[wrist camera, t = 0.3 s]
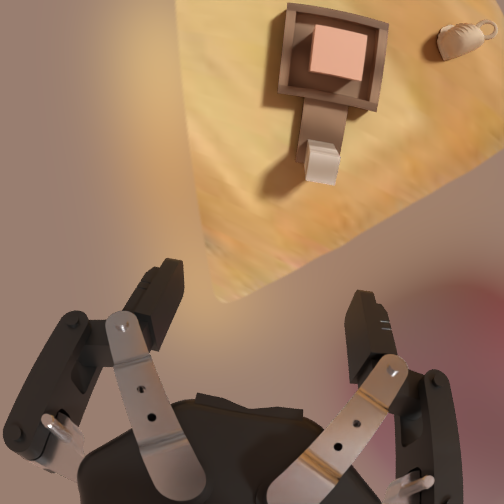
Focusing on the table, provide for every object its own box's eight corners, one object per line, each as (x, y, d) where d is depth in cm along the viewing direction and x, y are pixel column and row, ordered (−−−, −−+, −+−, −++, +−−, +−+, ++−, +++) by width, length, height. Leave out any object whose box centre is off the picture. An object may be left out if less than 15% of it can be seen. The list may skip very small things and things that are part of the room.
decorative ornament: (427, 32, 22) (446, 27, 18) (471, 19, 18) (492, 16, 14) (442, 60, 24) (463, 61, 19) (484, 46, 20) (507, 47, 16)
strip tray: (287, 7, 24) (286, -10, 18) (382, 26, 23) (403, 16, 17) (271, 155, 34) (265, 174, 28) (358, 170, 34) (371, 192, 28)
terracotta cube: (312, 32, 24) (315, 24, 20) (357, 41, 24) (367, 35, 20) (308, 71, 27) (310, 70, 23) (351, 80, 27) (361, 81, 23)
